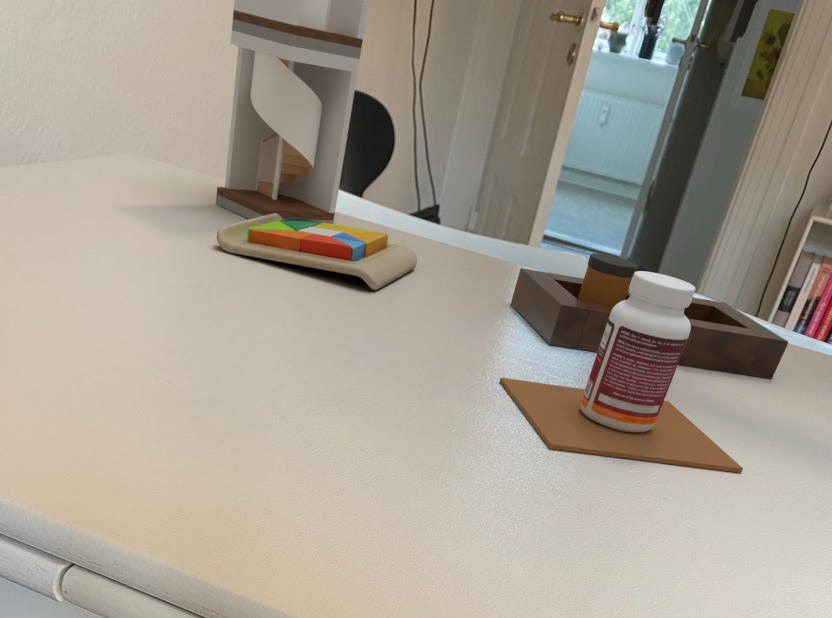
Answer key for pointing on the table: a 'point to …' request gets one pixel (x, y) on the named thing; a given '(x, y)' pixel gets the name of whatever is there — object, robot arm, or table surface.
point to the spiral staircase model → (291, 105)
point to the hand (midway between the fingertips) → (690, 33)
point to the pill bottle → (639, 353)
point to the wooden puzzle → (320, 247)
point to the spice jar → (606, 279)
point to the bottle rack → (585, 322)
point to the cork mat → (614, 430)
